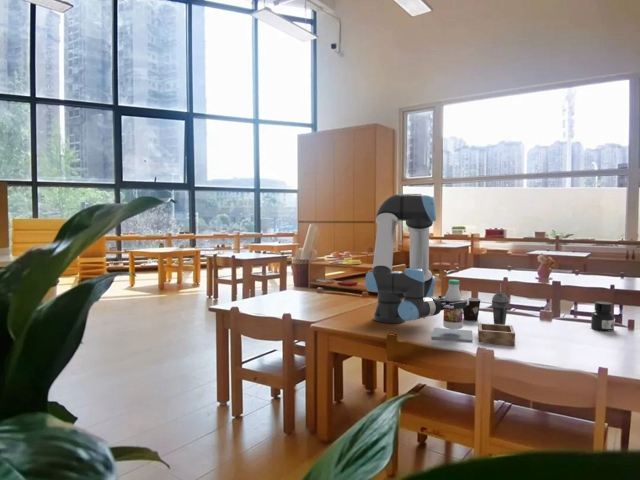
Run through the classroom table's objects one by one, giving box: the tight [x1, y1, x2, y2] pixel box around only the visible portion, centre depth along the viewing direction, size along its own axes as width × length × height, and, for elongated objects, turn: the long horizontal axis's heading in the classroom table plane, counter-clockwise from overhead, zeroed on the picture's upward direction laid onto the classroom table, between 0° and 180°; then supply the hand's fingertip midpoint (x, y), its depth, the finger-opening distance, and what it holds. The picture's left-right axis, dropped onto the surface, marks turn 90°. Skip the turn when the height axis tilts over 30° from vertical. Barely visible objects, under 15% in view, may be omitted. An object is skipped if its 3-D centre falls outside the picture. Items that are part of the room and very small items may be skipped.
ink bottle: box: [590, 301, 615, 332], centre depth 211 cm, size 10×9×12 cm
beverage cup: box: [491, 283, 509, 325], centre depth 214 cm, size 7×7×20 cm
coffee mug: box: [462, 297, 481, 322], centre depth 228 cm, size 12×9×10 cm
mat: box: [431, 327, 474, 343], centre depth 198 cm, size 16×16×1 cm
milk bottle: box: [442, 279, 464, 330], centre depth 197 cm, size 8×8×20 cm
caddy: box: [477, 322, 516, 347], centre depth 192 cm, size 13×13×5 cm
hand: (459, 300), depth 200 cm, fingers closed on milk bottle, 7 cm apart
